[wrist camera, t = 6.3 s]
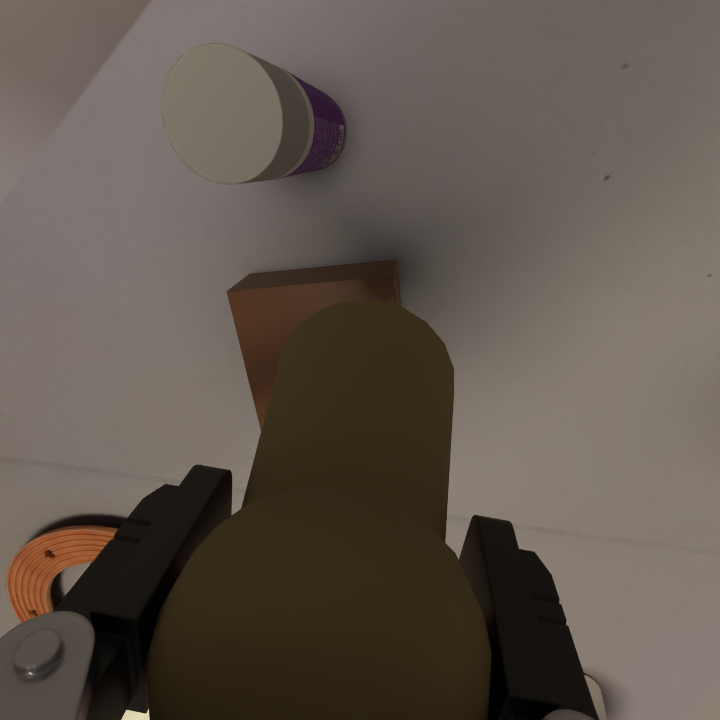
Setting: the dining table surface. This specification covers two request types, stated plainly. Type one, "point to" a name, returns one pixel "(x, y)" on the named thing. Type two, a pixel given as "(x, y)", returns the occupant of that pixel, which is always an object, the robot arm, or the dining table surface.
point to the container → (247, 117)
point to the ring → (50, 565)
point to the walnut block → (297, 311)
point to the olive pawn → (334, 547)
